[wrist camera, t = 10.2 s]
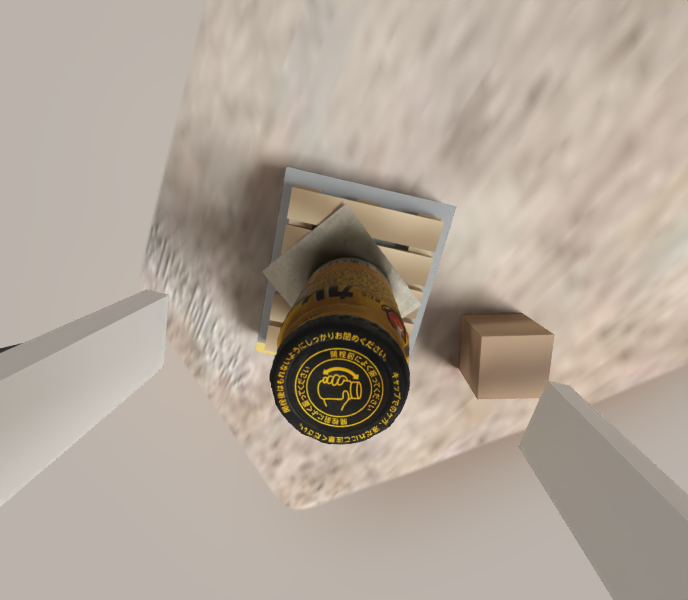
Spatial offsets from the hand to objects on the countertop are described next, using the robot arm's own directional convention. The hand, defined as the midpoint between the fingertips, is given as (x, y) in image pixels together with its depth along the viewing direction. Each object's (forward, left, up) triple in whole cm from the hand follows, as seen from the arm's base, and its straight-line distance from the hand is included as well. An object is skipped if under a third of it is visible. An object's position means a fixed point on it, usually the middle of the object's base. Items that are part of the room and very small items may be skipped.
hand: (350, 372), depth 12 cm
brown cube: (+3, +13, -18) cm, 22 cm away
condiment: (0, -1, -13) cm, 13 cm away
